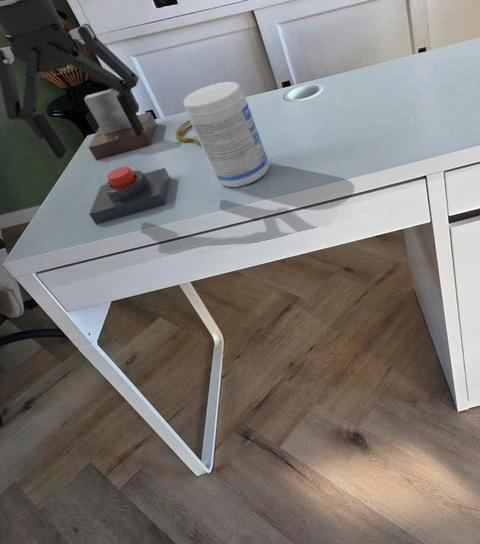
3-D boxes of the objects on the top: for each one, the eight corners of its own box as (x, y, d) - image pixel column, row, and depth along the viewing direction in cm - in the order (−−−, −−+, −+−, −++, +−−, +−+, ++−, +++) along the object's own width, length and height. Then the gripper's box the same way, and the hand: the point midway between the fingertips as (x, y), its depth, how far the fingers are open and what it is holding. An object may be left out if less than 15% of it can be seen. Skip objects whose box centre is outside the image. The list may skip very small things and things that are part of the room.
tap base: (96, 160, 104) (87, 146, 102) (106, 137, 113) (99, 125, 111) (150, 144, 105) (143, 131, 103) (156, 123, 114) (150, 110, 112)
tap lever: (104, 134, 106) (83, 98, 101) (106, 130, 108) (85, 94, 103) (135, 126, 106) (116, 89, 101) (137, 122, 108) (117, 85, 103)
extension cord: (173, 157, 98) (169, 148, 96) (179, 126, 110) (175, 118, 108) (232, 140, 98) (228, 131, 97) (232, 112, 110) (229, 103, 109)
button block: (96, 224, 82) (82, 205, 80) (107, 195, 90) (95, 177, 87) (165, 205, 83) (154, 185, 80) (170, 178, 91) (160, 158, 88)
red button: (111, 191, 83) (104, 181, 81) (115, 180, 86) (109, 170, 84) (134, 185, 83) (128, 174, 81) (137, 174, 86) (131, 164, 84)
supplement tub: (279, 171, 84) (250, 87, 75) (230, 195, 81) (194, 111, 71) (256, 155, 91) (226, 76, 81) (210, 177, 88) (173, 98, 78)
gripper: (-89, 28, 62) (20, 174, 76) (99, -21, 63) (172, 132, 77) (-62, 16, 68) (34, 154, 82) (110, -29, 69) (176, 114, 83)
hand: (101, 143), depth 80 cm, fingers open, 12 cm apart
